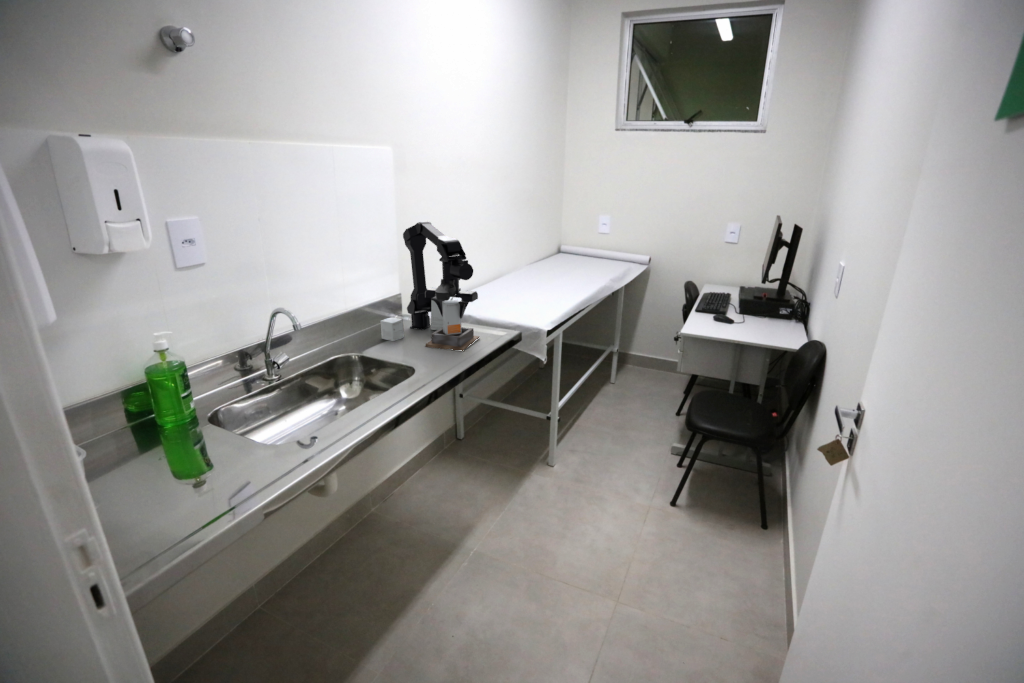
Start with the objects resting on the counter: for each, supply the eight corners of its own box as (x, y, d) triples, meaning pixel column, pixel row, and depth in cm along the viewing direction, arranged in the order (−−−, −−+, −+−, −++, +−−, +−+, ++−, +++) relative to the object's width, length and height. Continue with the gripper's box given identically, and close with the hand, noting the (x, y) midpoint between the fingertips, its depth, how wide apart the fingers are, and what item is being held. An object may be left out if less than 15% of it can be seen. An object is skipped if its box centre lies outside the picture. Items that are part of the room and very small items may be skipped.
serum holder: (425, 346, 184) (424, 334, 183) (444, 334, 197) (443, 323, 196) (463, 351, 179) (462, 339, 178) (479, 338, 193) (479, 327, 191)
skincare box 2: (446, 335, 184) (445, 303, 180) (443, 332, 188) (441, 301, 184) (462, 333, 186) (461, 302, 182) (458, 330, 190) (457, 299, 186)
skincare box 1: (393, 341, 189) (392, 323, 187) (381, 339, 192) (379, 320, 190) (404, 337, 194) (403, 318, 192) (392, 334, 197) (391, 316, 195)
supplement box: (452, 326, 208) (453, 296, 204) (448, 331, 201) (449, 301, 197) (434, 324, 208) (435, 294, 204) (430, 329, 201) (431, 298, 197)
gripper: (416, 277, 176) (418, 320, 181) (465, 282, 170) (466, 326, 175) (431, 271, 186) (433, 312, 191) (478, 275, 180) (478, 317, 185)
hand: (452, 317), depth 185 cm, fingers closed on skincare box 2, 7 cm apart
